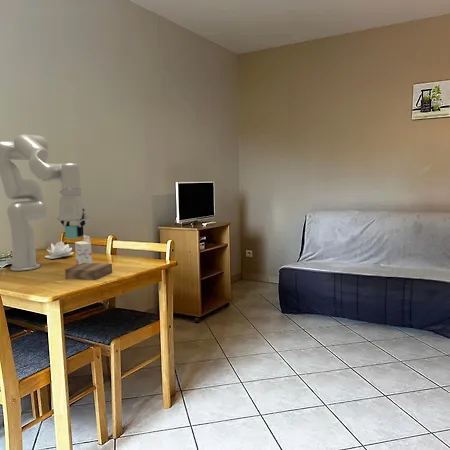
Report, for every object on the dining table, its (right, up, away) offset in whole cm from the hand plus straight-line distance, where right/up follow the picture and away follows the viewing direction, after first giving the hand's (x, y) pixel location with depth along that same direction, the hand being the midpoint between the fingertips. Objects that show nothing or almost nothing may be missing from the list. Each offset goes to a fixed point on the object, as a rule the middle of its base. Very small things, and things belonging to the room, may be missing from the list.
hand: (74, 235), depth 174 cm
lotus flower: (-26, -13, +48) cm, 56 cm away
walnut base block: (+5, -17, +4) cm, 19 cm away
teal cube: (0, -1, 0) cm, 1 cm away
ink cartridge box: (-4, -16, +23) cm, 28 cm away
